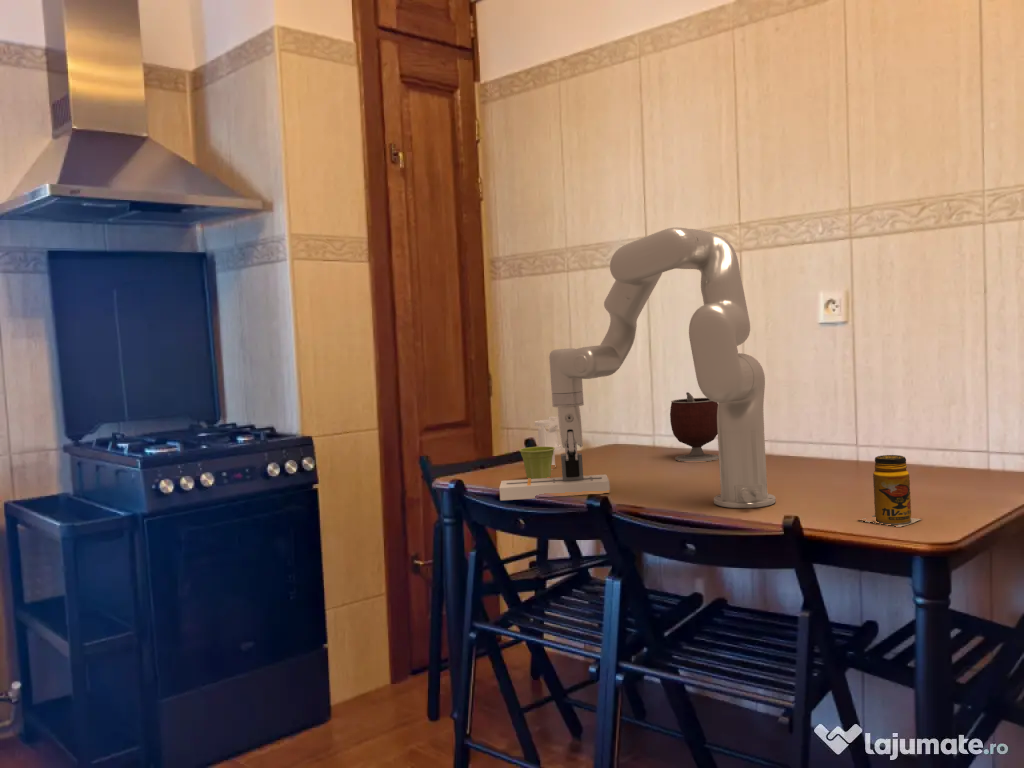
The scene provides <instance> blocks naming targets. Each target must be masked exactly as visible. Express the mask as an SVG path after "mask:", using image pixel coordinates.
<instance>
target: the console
mask: <svg viewBox="0 0 1024 768" xmlns="http://www.w3.org/2000/svg"><path fill="white" fill-rule="evenodd" d="M583 478H584V480H567V481H563V478H562V476H561V477H560V476H556V477H551V478H540V479H527V478H525V479H510V480H509V479H508V480H501V481H500V482H501V483H500V485H499V501H513V500H531V499H536V498H535V496H536V495H539V494H544V493H565V492H582V491H607V490H610V491H611V485H610V484H611V483H610V479H609V477H608V476H607V474H605V473H604V474H591V475H583Z"/></svg>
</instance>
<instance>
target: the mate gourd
mask: <svg viewBox="0 0 1024 768" xmlns="http://www.w3.org/2000/svg"><path fill="white" fill-rule="evenodd" d="M685 394H686V395H685V396H686V398H680V399H679V398H678V399H673V400H671V401H670V402H671V404H670V408H669V409H670V411H669V412H670V413H669V418H670V419H669V420H670V421H669V422H670V426H671V431H672V434H673V436H674V438H676V439H677V440H678V442H680V443H682V444H684V445H687V446H688V447H691V450H690V452H689V453H690V454H683V455H678V456H676V457H675V461H676V460H680V461H710V462H712V461H711V460H716V461H718V460H719V454H718V455H717V454H713V453H704V450H703V448H702V447H703V446H705V445H706V444H709V443H711V442H713V441H714V440H715V439H716V437H718V432H717V430H718V429H717V410H718V403H717V402H714V401H711V400H709V399H708V398H707V397H693V395H692V394H691V393H690V392H686V393H685ZM717 459H718V460H717Z"/></svg>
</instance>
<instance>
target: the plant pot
mask: <svg viewBox="0 0 1024 768" xmlns="http://www.w3.org/2000/svg"><path fill="white" fill-rule="evenodd" d="M554 449H555V448H554V447H536V446H529V447H524V448H520V449H518V451H519V452H520V455H521V458H522V461H523V466H524V470H525V471H524V472H525V475H526V479H527V478H531V479H540V478H547V477H550V476H552V469H551V465H552V455H553V451H554Z"/></svg>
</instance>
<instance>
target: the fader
mask: <svg viewBox="0 0 1024 768" xmlns="http://www.w3.org/2000/svg"><path fill="white" fill-rule="evenodd" d="M577 458H578V460H579V474H580V476H579V477H566V466H565V461H566V453H560V459H561V473H562V474H561V475H562V476H561V477H562V478H563V481H567V480H584V478H583V476H584V466H583V453H582V452H577Z"/></svg>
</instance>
